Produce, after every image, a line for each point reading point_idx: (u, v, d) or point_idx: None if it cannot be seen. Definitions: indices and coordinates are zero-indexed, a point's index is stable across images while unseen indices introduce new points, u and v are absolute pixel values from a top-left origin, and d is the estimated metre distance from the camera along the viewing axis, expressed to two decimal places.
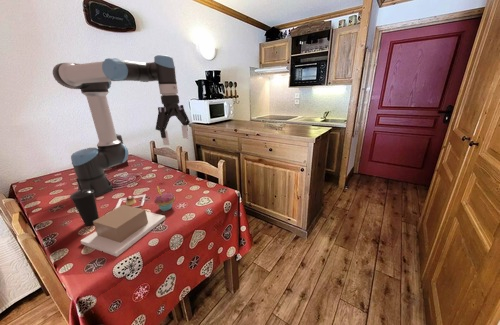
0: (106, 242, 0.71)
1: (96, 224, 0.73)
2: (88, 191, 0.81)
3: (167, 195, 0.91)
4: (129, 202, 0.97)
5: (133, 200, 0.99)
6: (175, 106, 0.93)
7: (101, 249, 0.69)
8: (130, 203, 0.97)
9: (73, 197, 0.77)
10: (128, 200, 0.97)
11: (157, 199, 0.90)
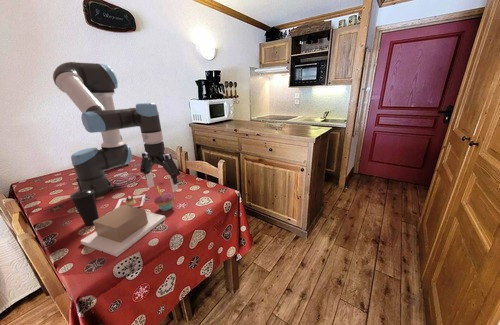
0: (106, 242, 0.71)
1: (96, 224, 0.73)
2: (88, 191, 0.81)
3: (167, 195, 0.91)
4: (129, 202, 0.97)
5: (133, 200, 0.98)
6: (156, 155, 0.84)
7: (101, 249, 0.69)
8: (130, 203, 0.97)
9: (73, 197, 0.77)
10: (128, 200, 0.97)
11: (157, 199, 0.90)
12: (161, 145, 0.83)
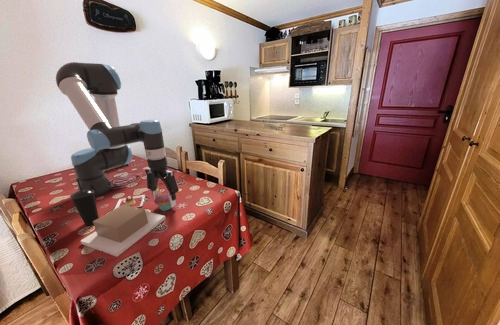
0: (106, 242, 0.71)
1: (96, 224, 0.73)
2: (88, 191, 0.81)
3: (167, 195, 0.91)
4: (128, 202, 0.97)
5: (133, 200, 0.98)
6: (159, 170, 0.86)
7: (101, 249, 0.69)
8: (129, 203, 0.97)
9: (73, 197, 0.77)
10: (127, 200, 0.97)
11: (157, 199, 0.90)
12: (164, 161, 0.85)
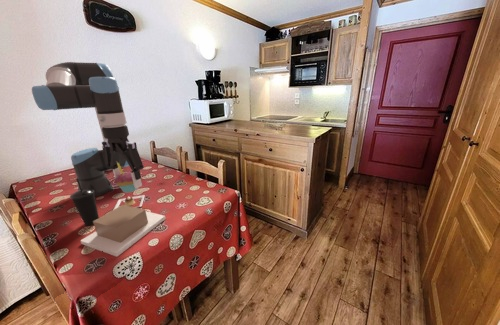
0: (106, 242, 0.71)
1: (96, 224, 0.73)
2: (88, 191, 0.81)
3: (130, 174, 0.75)
4: (128, 203, 0.97)
5: (132, 200, 0.98)
6: (118, 141, 0.70)
7: (101, 249, 0.69)
8: (129, 204, 0.97)
9: (73, 197, 0.77)
10: (127, 201, 0.96)
11: (117, 178, 0.73)
12: (123, 129, 0.69)
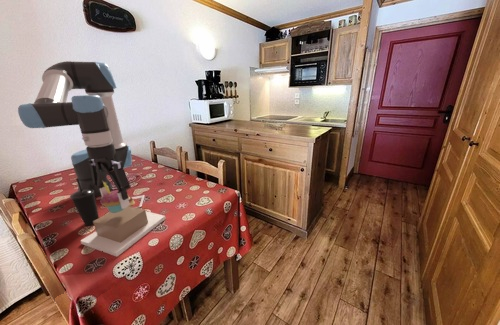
0: (106, 242, 0.71)
1: (96, 224, 0.73)
2: (88, 191, 0.81)
3: None
4: None
5: (132, 201, 0.98)
6: (103, 160, 0.67)
7: (101, 249, 0.69)
8: None
9: (73, 197, 0.77)
10: None
11: (103, 198, 0.71)
12: (108, 149, 0.66)
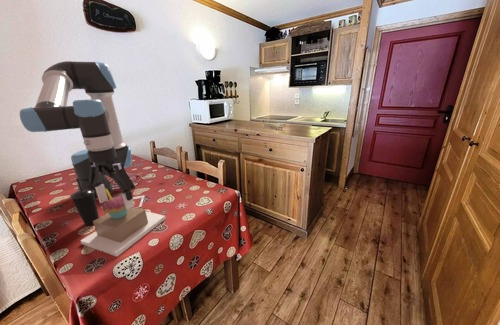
0: (106, 242, 0.71)
1: (96, 224, 0.73)
2: (88, 191, 0.81)
3: (119, 200, 0.73)
4: None
5: None
6: (104, 164, 0.68)
7: (101, 249, 0.69)
8: None
9: (73, 197, 0.77)
10: None
11: (105, 205, 0.72)
12: (109, 152, 0.66)
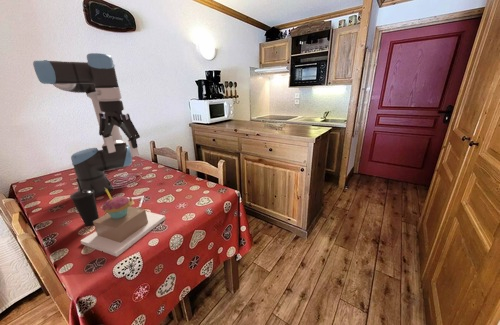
0: (106, 242, 0.71)
1: (96, 224, 0.73)
2: (88, 191, 0.81)
3: (119, 200, 0.73)
4: None
5: (132, 201, 0.97)
6: (113, 114, 0.77)
7: (101, 249, 0.69)
8: None
9: (73, 197, 0.77)
10: None
11: (105, 205, 0.72)
12: (118, 103, 0.76)
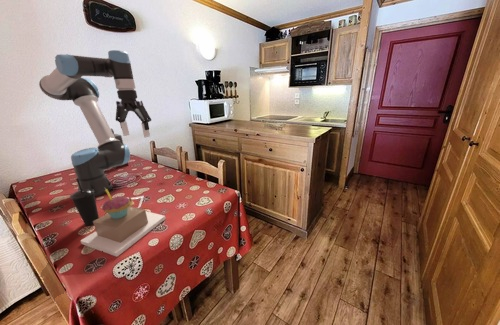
0: (106, 242, 0.71)
1: (96, 224, 0.73)
2: (88, 191, 0.81)
3: (119, 200, 0.73)
4: None
5: (131, 201, 0.97)
6: (129, 101, 0.92)
7: (101, 249, 0.69)
8: None
9: (73, 197, 0.77)
10: None
11: (105, 205, 0.72)
12: (133, 92, 0.91)
